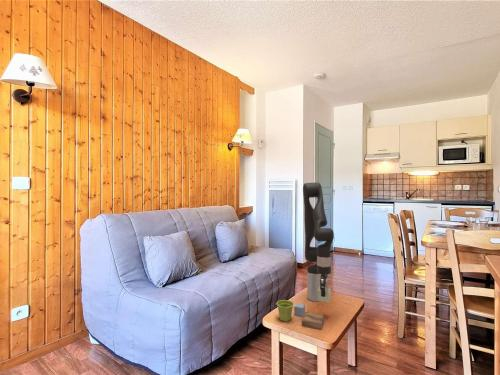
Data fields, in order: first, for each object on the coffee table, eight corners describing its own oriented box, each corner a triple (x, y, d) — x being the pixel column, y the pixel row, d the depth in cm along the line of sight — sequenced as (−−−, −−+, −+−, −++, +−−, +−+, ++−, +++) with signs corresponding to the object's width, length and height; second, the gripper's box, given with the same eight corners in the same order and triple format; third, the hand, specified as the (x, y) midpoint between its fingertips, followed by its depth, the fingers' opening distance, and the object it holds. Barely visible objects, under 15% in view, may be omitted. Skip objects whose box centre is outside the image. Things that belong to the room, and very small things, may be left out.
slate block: (296, 311, 163) (296, 303, 163) (304, 313, 161) (304, 304, 161) (294, 315, 158) (294, 306, 158) (303, 316, 156) (303, 308, 156)
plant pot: (279, 324, 148) (279, 307, 148) (274, 316, 158) (274, 300, 157) (296, 322, 150) (296, 306, 150) (290, 314, 159) (290, 299, 159)
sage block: (319, 296, 160) (319, 285, 160) (330, 297, 158) (330, 287, 157) (317, 300, 155) (317, 290, 154) (329, 302, 152) (329, 292, 152)
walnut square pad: (305, 317, 155) (305, 311, 155) (324, 320, 152) (324, 315, 152) (301, 326, 146) (301, 319, 146) (321, 329, 142) (321, 323, 142)
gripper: (318, 259, 163) (319, 288, 164) (314, 267, 150) (315, 298, 151) (332, 261, 161) (332, 290, 161) (329, 268, 147) (329, 300, 148)
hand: (324, 293), depth 156 cm, fingers closed on sage block, 6 cm apart
